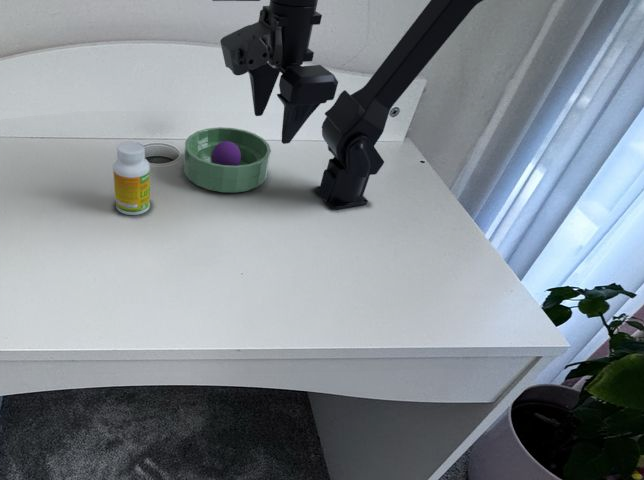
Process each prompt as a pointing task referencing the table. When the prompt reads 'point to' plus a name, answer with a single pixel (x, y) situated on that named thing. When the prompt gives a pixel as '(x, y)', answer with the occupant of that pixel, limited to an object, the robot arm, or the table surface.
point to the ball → (226, 154)
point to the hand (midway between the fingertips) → (271, 128)
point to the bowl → (226, 176)
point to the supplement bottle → (132, 178)
